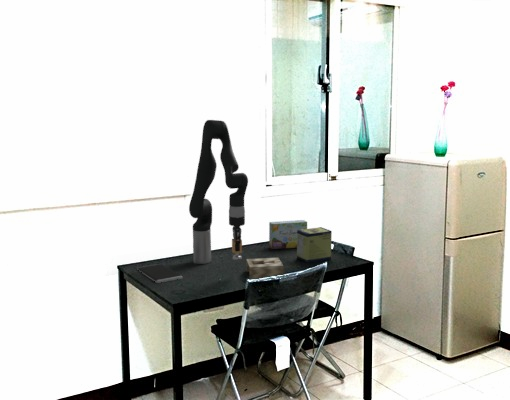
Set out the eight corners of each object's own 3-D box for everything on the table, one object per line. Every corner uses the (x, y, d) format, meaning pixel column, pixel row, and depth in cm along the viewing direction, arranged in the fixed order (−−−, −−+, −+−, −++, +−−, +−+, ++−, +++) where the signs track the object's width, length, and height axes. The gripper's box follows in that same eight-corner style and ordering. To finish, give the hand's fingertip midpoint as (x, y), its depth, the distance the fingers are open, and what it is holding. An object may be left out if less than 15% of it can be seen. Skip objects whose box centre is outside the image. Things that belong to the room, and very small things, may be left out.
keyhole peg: (232, 260, 280) (232, 241, 278) (232, 257, 284) (231, 238, 282) (242, 259, 280) (241, 240, 279) (241, 257, 285) (240, 238, 283)
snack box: (271, 249, 330) (271, 223, 328) (269, 247, 336) (268, 221, 333) (307, 246, 336) (307, 221, 333) (303, 244, 341) (304, 219, 339)
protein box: (331, 259, 310) (332, 230, 308) (306, 263, 304) (306, 233, 301) (320, 254, 320) (321, 226, 317) (296, 258, 313) (296, 229, 310)
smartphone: (161, 266, 303) (161, 263, 302) (183, 279, 280) (183, 276, 280) (136, 270, 296) (136, 267, 296) (157, 284, 273) (156, 280, 273)
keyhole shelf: (250, 279, 277) (249, 267, 276) (246, 270, 291) (246, 259, 290) (283, 277, 280) (283, 265, 278) (278, 269, 293) (278, 257, 292)
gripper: (227, 212, 285) (228, 246, 288) (230, 218, 271) (230, 254, 274) (243, 211, 286) (243, 245, 289) (246, 218, 272) (246, 253, 275)
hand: (237, 249), depth 281 cm, fingers closed on keyhole peg, 4 cm apart
